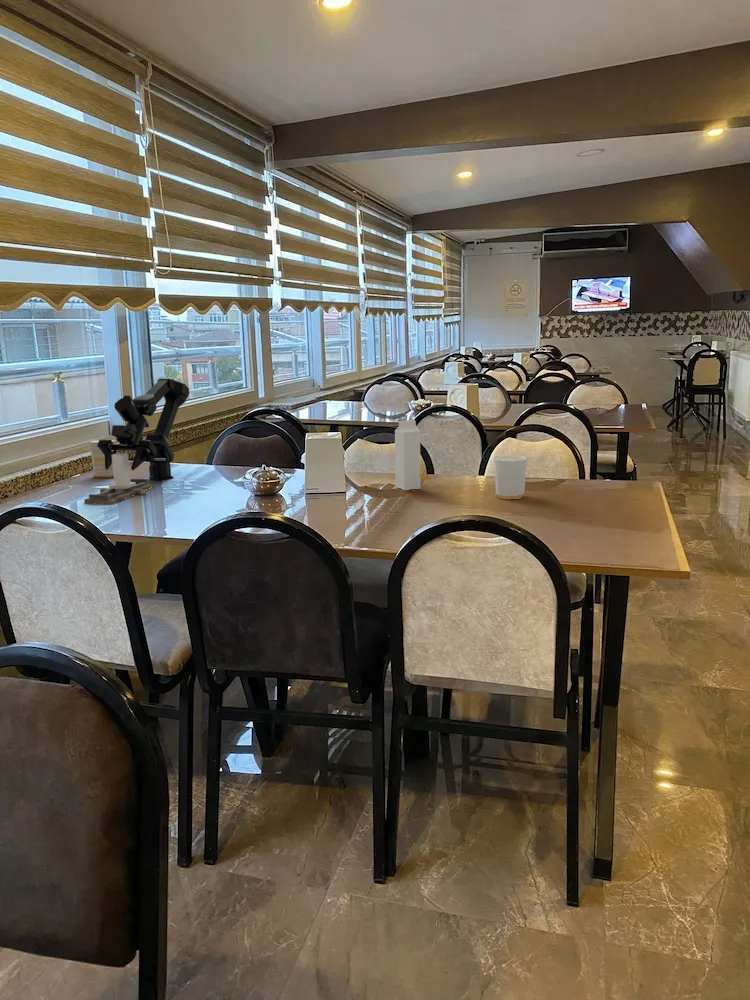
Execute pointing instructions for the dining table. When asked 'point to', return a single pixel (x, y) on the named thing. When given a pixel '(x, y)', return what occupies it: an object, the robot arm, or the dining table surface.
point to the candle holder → (510, 475)
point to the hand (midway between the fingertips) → (119, 469)
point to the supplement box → (100, 461)
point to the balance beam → (119, 493)
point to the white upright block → (121, 472)
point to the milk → (407, 455)
